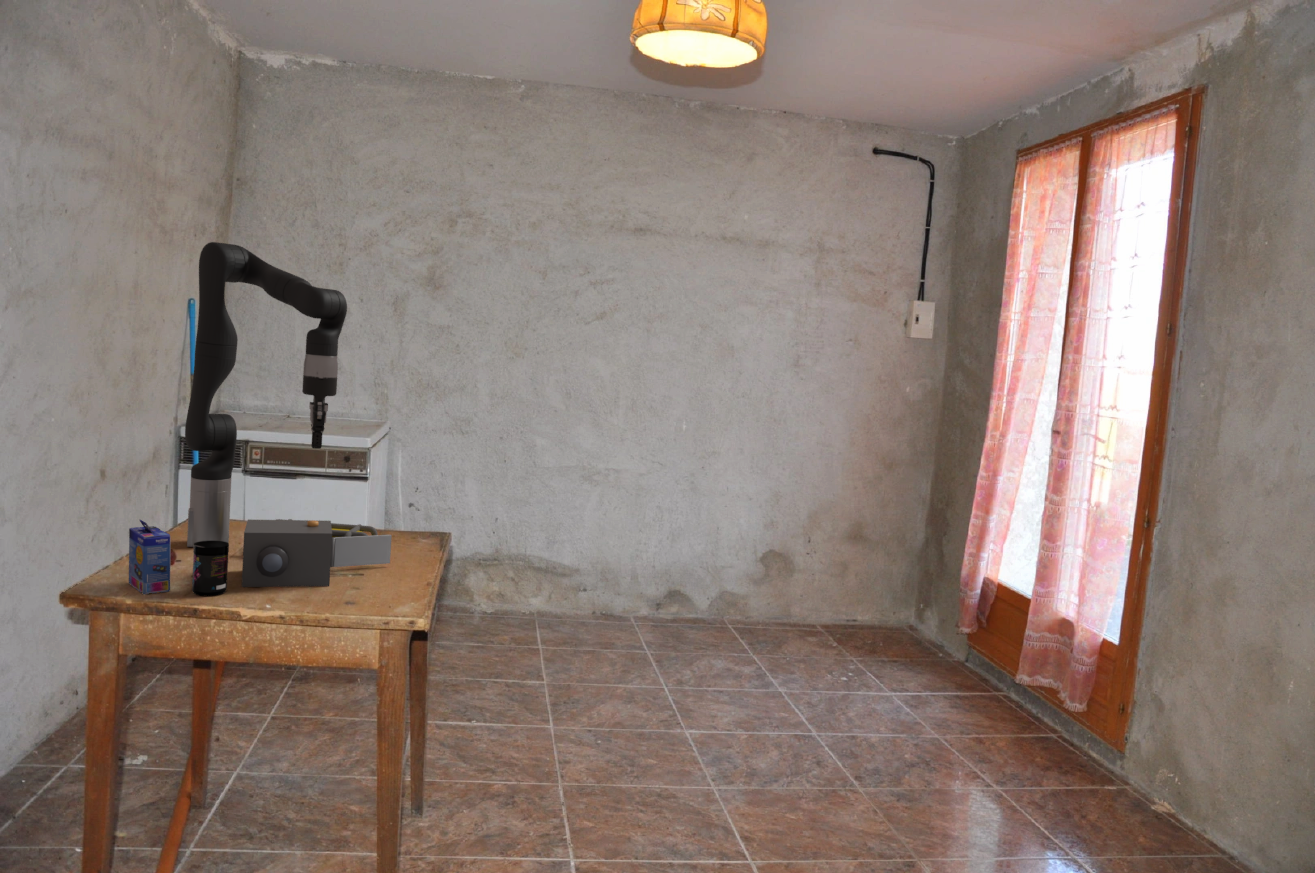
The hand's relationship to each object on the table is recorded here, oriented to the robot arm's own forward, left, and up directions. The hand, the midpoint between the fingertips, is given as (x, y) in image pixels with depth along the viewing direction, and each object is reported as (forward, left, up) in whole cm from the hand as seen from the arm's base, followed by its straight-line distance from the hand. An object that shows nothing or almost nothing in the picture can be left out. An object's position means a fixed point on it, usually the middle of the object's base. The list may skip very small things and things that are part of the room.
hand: (316, 448), depth 222 cm
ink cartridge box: (-32, -16, -29) cm, 46 cm away
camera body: (-5, -10, -29) cm, 31 cm away
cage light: (+2, +12, -29) cm, 32 cm away
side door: (+11, 0, -28) cm, 30 cm away
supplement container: (-20, -20, -29) cm, 41 cm away
